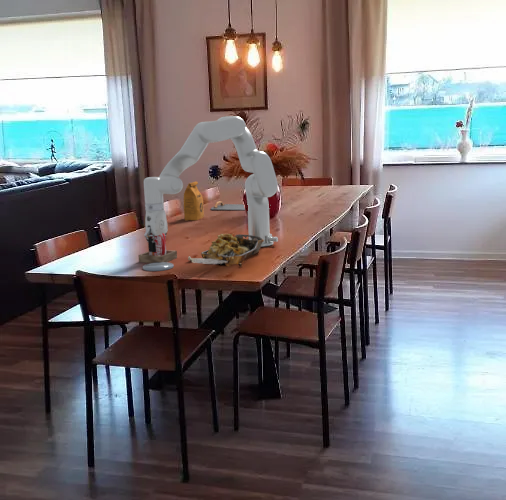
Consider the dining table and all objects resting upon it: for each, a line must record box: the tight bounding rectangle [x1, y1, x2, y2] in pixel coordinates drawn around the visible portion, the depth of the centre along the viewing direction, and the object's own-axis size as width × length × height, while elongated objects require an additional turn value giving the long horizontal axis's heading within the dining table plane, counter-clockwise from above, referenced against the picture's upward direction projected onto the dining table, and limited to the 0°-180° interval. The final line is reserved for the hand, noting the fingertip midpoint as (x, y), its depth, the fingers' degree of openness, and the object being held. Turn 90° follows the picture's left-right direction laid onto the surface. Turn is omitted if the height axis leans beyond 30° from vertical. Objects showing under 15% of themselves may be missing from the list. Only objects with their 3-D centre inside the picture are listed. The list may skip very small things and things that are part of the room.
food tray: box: [187, 232, 264, 268], centre depth 266 cm, size 35×26×11 cm
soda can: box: [149, 232, 167, 256], centre depth 263 cm, size 7×7×12 cm
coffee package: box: [183, 181, 205, 221], centre depth 364 cm, size 10×12×22 cm
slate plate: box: [142, 261, 174, 272], centre depth 250 cm, size 12×12×1 cm
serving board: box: [210, 200, 246, 212], centre depth 397 cm, size 39×23×6 cm, turn 69°
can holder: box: [138, 249, 178, 264], centre depth 264 cm, size 11×11×3 cm
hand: (157, 249), depth 263 cm, fingers closed on soda can, 7 cm apart
